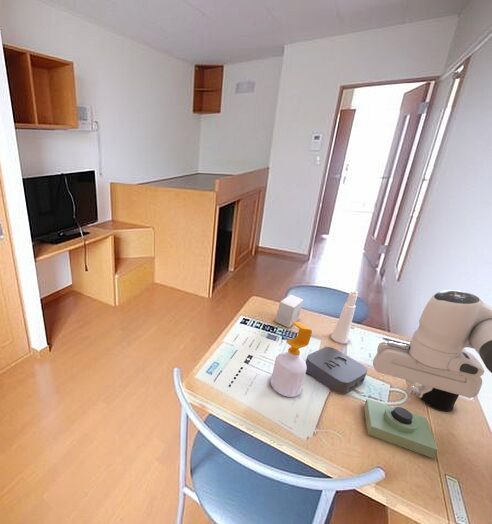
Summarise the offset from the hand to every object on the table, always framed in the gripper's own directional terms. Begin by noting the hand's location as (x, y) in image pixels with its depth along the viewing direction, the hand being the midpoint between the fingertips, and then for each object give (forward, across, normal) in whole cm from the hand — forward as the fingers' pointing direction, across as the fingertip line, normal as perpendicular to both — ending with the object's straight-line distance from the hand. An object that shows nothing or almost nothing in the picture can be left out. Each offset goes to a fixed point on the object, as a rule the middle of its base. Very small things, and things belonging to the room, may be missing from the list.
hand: (413, 394), depth 80 cm
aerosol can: (+14, +13, +19) cm, 27 cm away
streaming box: (+14, -15, +16) cm, 26 cm away
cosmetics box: (+13, -32, +45) cm, 57 cm away
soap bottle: (+13, -29, +2) cm, 32 cm away
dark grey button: (+9, 0, 0) cm, 9 cm away
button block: (+14, 0, 0) cm, 14 cm away
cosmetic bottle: (+14, -12, +41) cm, 45 cm away
